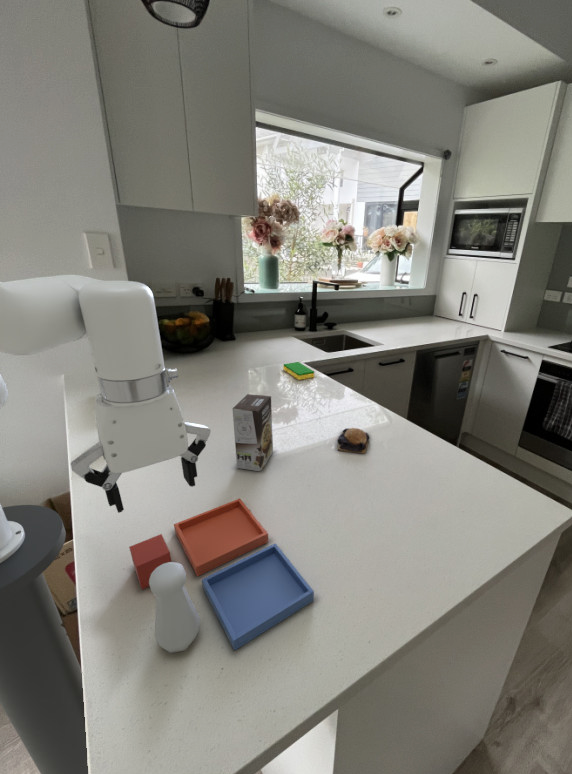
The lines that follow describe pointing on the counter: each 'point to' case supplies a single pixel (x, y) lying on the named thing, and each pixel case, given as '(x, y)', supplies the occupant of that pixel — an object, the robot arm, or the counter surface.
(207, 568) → the red tray
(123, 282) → the robot arm
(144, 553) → the red block
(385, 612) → the counter surface
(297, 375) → the dish sponge
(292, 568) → the blue tray
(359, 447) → the burger
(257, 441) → the coffee box
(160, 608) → the salt shaker
